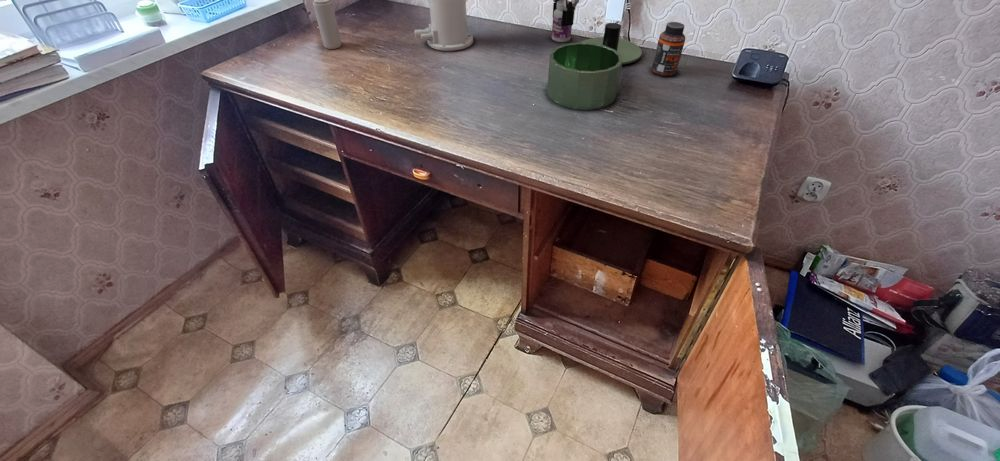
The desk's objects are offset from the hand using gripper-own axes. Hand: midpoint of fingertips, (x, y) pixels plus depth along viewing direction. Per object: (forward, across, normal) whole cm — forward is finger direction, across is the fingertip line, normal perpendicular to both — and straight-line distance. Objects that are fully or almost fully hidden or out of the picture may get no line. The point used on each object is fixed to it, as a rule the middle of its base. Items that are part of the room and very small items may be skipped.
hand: (562, 20), depth 127 cm
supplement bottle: (+5, +27, +16) cm, 32 cm away
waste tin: (+5, +31, -8) cm, 32 cm away
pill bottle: (+5, 0, 0) cm, 5 cm away
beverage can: (+5, -14, -61) cm, 63 cm away
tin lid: (+4, +13, +8) cm, 16 cm away
